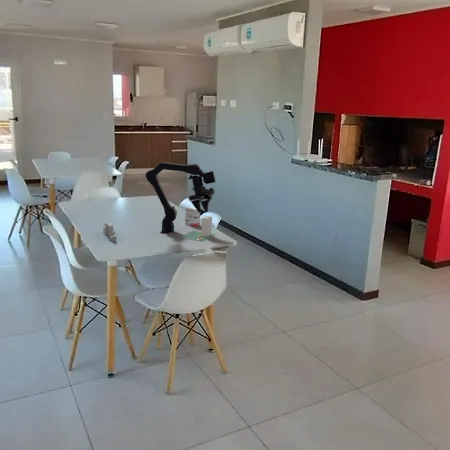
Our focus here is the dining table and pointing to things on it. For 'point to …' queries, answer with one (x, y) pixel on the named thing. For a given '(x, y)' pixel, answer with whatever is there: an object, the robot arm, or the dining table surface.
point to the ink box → (192, 216)
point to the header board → (196, 236)
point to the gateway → (109, 231)
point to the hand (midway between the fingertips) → (203, 212)
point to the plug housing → (206, 226)
